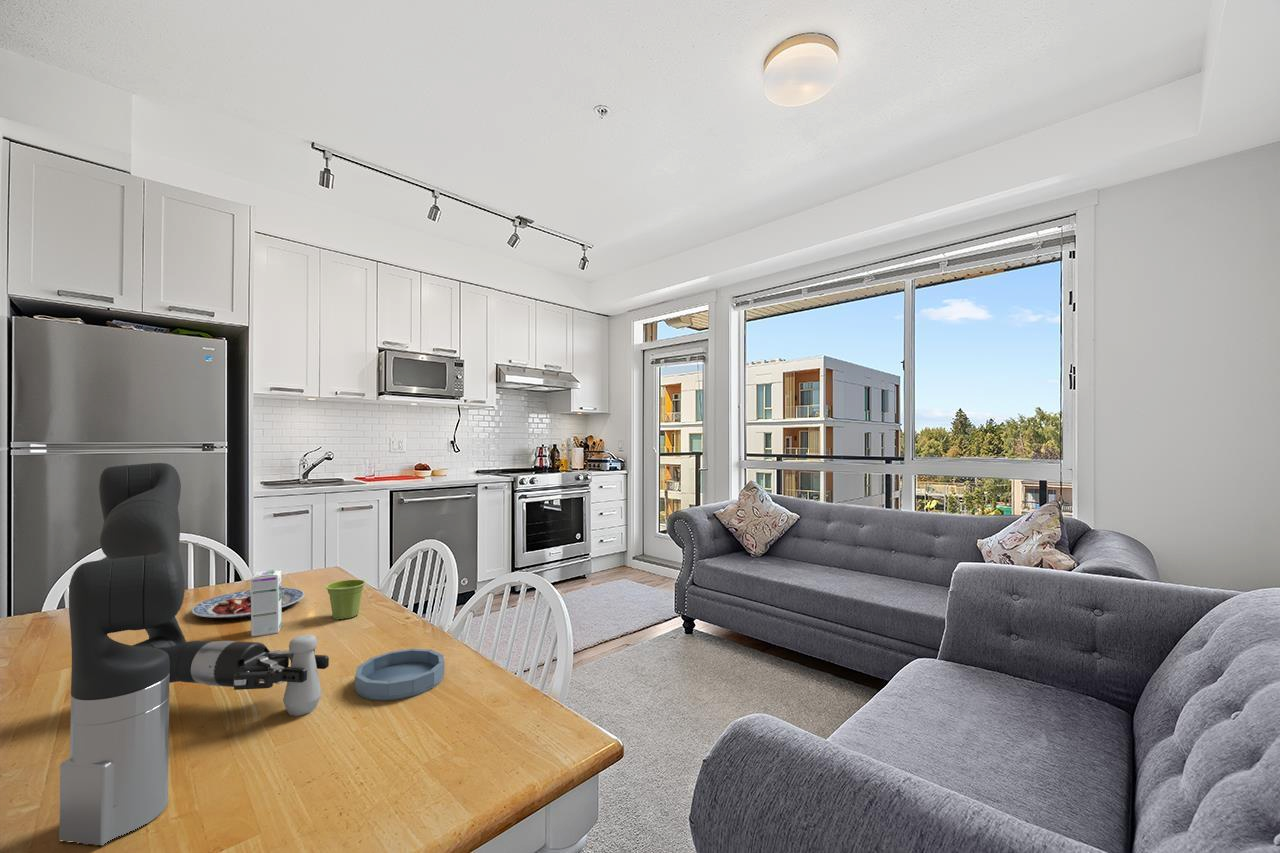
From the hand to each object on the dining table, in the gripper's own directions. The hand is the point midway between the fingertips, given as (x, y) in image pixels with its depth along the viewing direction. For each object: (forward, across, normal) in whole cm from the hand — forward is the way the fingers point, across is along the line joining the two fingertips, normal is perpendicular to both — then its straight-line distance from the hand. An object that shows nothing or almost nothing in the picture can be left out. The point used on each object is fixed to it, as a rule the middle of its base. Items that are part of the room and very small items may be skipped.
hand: (316, 668), depth 98 cm
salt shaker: (-3, 0, +8) cm, 8 cm away
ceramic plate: (-59, +50, +8) cm, 77 cm away
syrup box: (-40, +34, +8) cm, 53 cm away
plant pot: (-28, +47, +8) cm, 55 cm away
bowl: (+8, +13, +8) cm, 17 cm away
